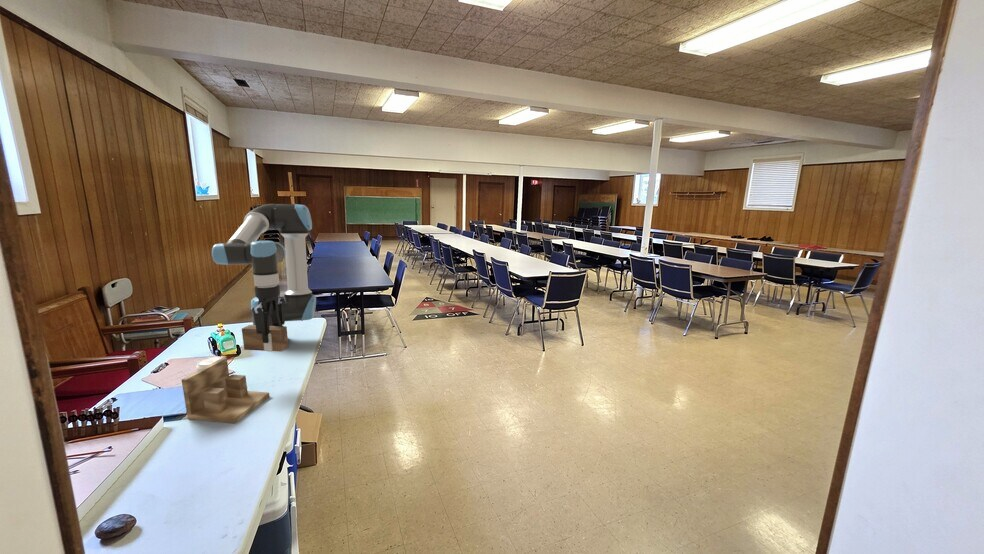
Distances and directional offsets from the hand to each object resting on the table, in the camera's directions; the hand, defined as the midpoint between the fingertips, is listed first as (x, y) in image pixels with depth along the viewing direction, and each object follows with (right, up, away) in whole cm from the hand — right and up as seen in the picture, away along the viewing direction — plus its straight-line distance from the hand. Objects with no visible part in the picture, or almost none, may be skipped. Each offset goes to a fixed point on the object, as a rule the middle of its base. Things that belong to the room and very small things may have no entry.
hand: (273, 347), depth 137 cm
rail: (-3, 0, 0) cm, 3 cm away
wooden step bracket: (-8, -18, -11) cm, 22 cm away
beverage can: (-20, -16, -2) cm, 25 cm away
